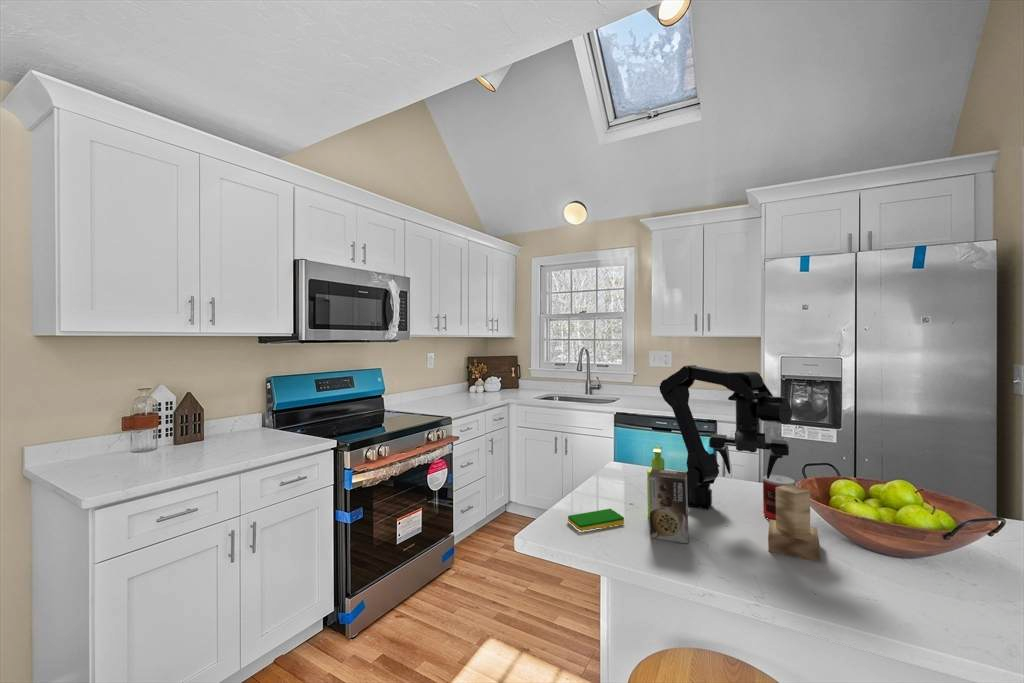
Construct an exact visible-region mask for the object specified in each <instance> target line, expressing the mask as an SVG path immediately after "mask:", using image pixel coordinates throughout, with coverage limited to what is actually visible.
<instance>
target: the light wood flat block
mask: <svg viewBox="0 0 1024 683" xmlns="http://www.w3.org/2000/svg"><path fill="white" fill-rule="evenodd" d="M767 535H768V536H767V540H768V544H767V545H768V547H767V551H768V552H769V553H775V554H779V555H784V556H790V557H794V558H798V559H799V558H800V559H804V560H808V561H813V562H817V561H818V563H820V562H821V554H820V553H821V550H820V549H821V547H820V546H821V544H820V537H819V533H818V528H817V527H815V526H811V525H810V533H808V534H804V535H800V536H796V537H795V536H793V535H791V534H789V533H786V532H784V531H782V530H779V529H777V528H776V520H771V519H769V520H768V534H767Z"/></svg>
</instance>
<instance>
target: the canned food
mask: <svg viewBox="0 0 1024 683" xmlns="http://www.w3.org/2000/svg"><path fill="white" fill-rule="evenodd" d="M789 484H791V485H794V486H796V481H795V480H794V479H793V478H791V477H788V476H785V475H779V474H770V477H769V479H767V474H765V475H763V478H762V490H763V491H762V494H763V495H762V499H763V502H762V505H763V506H762V508H763V512H762V513H763V515H764V517H765V519H767V518H768V519H771V520H776V487H779V486H784V485H789ZM768 519H767V520H768Z"/></svg>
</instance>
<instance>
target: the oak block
mask: <svg viewBox="0 0 1024 683" xmlns="http://www.w3.org/2000/svg"><path fill="white" fill-rule="evenodd" d="M810 526H811V490H809V489H806V488H802V487H799V486H796V485H795V486H794V485H791V484H789V485H784V486H779V487H776V528H777V529H779V530H782V531H784V532H786V533H789V534H791V535H793V536H795V537H796V536H800V535H804V534H808V533H810Z"/></svg>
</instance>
